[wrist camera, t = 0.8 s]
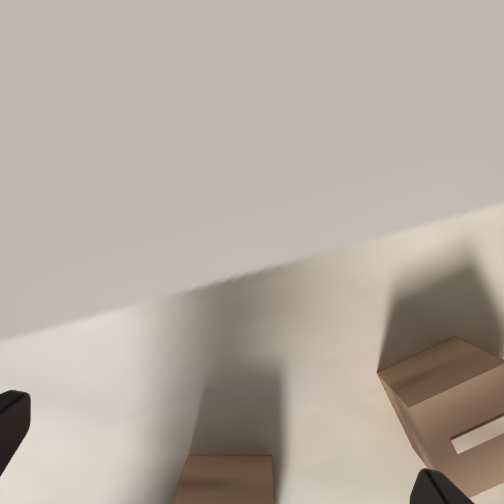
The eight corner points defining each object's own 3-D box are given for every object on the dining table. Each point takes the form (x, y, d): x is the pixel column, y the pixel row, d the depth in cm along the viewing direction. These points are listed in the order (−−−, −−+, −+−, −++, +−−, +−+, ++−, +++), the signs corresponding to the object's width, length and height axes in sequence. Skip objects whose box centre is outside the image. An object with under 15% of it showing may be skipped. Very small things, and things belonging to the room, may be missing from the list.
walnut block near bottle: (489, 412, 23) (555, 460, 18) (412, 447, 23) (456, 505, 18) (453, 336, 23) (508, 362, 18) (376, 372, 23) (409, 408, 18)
